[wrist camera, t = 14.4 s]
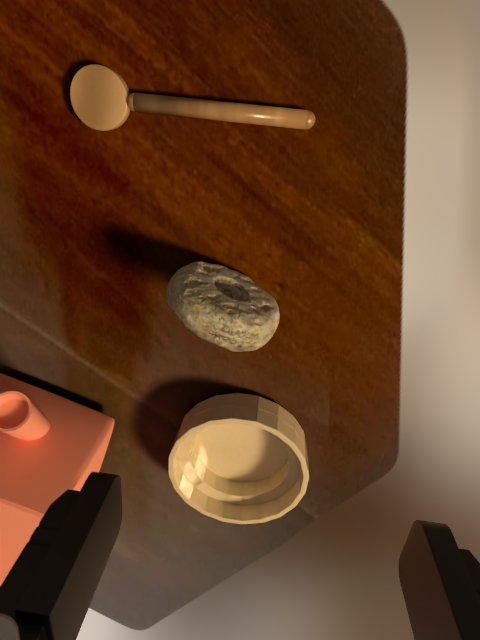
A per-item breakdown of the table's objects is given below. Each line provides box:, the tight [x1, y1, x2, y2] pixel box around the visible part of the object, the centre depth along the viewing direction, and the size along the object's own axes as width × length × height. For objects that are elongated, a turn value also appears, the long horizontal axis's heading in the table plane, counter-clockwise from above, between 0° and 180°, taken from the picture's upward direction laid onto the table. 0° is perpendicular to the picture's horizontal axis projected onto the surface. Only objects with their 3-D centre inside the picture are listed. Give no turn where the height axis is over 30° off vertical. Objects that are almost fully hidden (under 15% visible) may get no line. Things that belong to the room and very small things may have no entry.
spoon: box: [70, 64, 315, 131], centre depth 34 cm, size 20×5×1 cm, turn 85°
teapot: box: [0, 373, 114, 586], centre depth 42 cm, size 25×23×18 cm
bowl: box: [168, 393, 309, 524], centre depth 47 cm, size 15×15×5 cm
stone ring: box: [166, 261, 280, 352], centre depth 36 cm, size 10×4×10 cm, turn 62°
